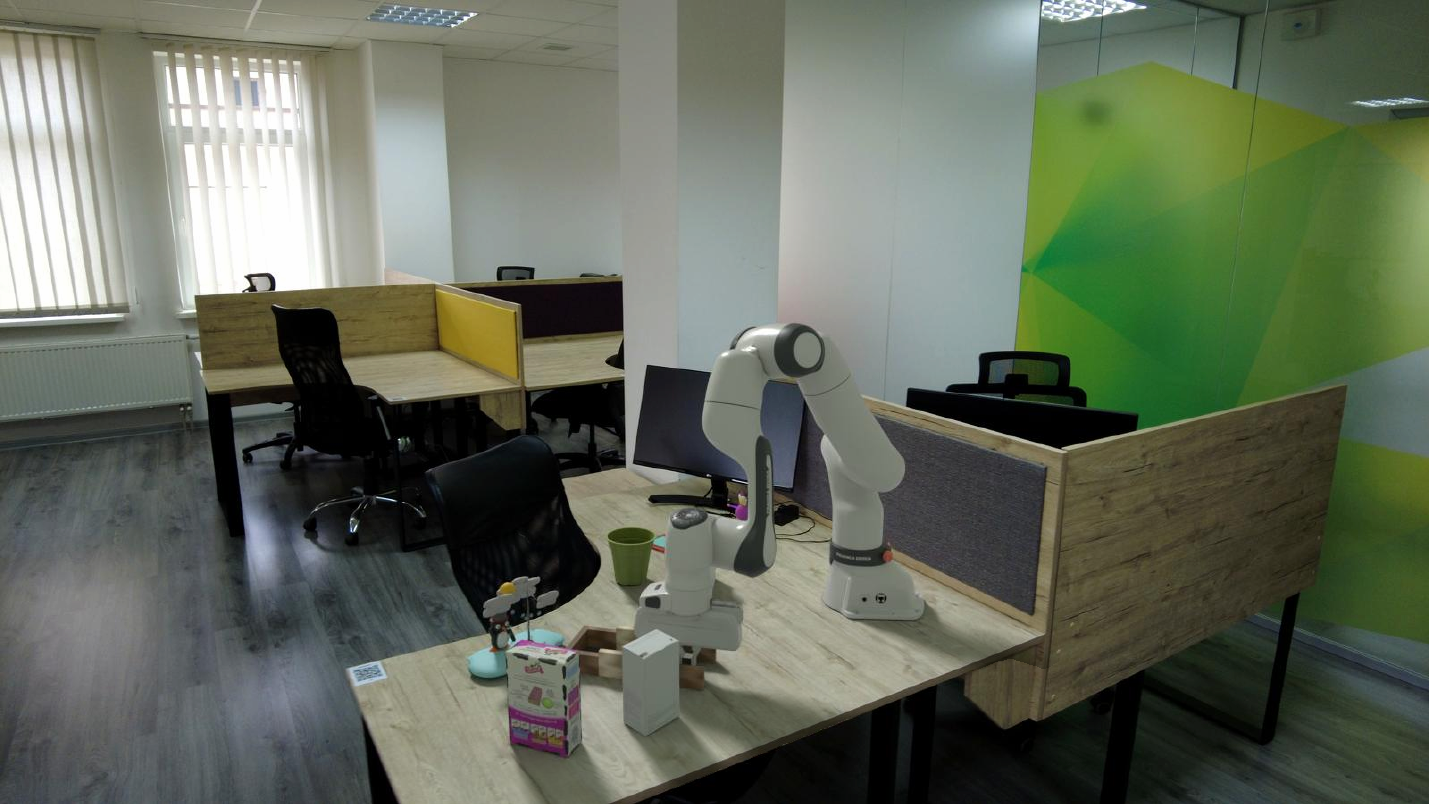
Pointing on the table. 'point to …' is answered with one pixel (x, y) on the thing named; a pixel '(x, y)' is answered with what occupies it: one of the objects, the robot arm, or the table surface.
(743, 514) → the wizard figurine
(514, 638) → the penguin figurine
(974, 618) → the table surface
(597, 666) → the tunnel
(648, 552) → the plant pot
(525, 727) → the candy bar box
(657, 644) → the skincare box
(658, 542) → the handheld gaming console
